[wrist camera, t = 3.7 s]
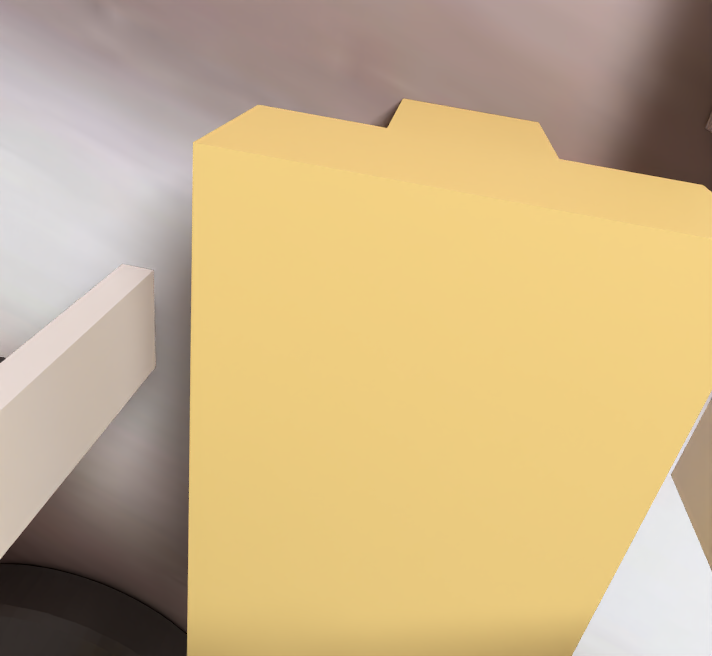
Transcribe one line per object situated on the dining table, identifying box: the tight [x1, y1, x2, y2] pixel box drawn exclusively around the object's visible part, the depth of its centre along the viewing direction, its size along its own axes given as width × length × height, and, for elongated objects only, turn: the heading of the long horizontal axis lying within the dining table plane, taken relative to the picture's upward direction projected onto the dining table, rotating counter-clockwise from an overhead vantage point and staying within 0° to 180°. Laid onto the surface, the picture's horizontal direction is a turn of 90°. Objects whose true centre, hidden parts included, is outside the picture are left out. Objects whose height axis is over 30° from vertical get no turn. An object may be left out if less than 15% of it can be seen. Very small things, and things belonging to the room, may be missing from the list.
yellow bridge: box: [187, 99, 712, 656], centre depth 14 cm, size 8×11×8 cm, turn 172°
